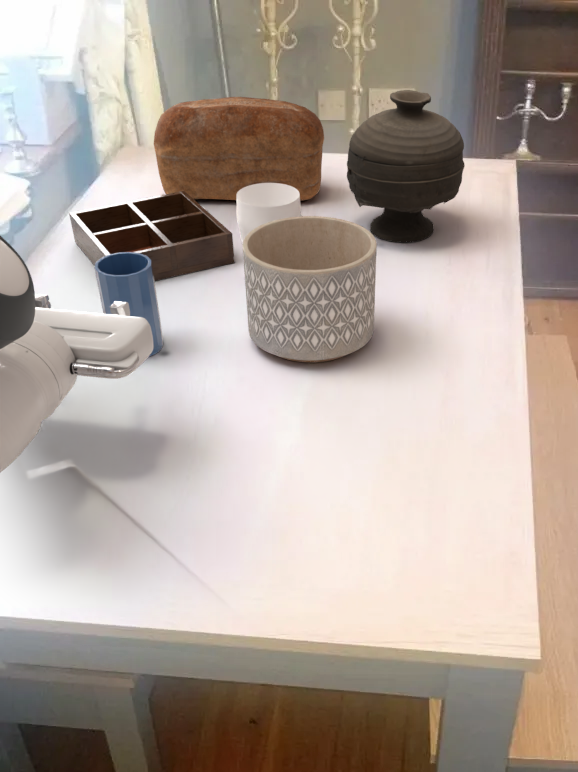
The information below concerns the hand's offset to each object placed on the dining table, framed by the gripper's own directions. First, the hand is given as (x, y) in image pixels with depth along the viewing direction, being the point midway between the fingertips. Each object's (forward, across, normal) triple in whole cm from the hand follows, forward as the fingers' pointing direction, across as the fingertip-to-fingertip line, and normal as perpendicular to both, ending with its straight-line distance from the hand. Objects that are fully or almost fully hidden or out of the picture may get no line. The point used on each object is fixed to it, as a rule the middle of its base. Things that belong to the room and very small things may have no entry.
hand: (83, 303), depth 100 cm
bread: (+66, 0, +12) cm, 67 cm away
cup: (+35, -12, +12) cm, 39 cm away
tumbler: (+12, 0, +12) cm, 17 cm away
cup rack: (+40, +8, +12) cm, 42 cm away
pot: (+56, -28, +12) cm, 64 cm away
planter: (+19, -22, +12) cm, 31 cm away
